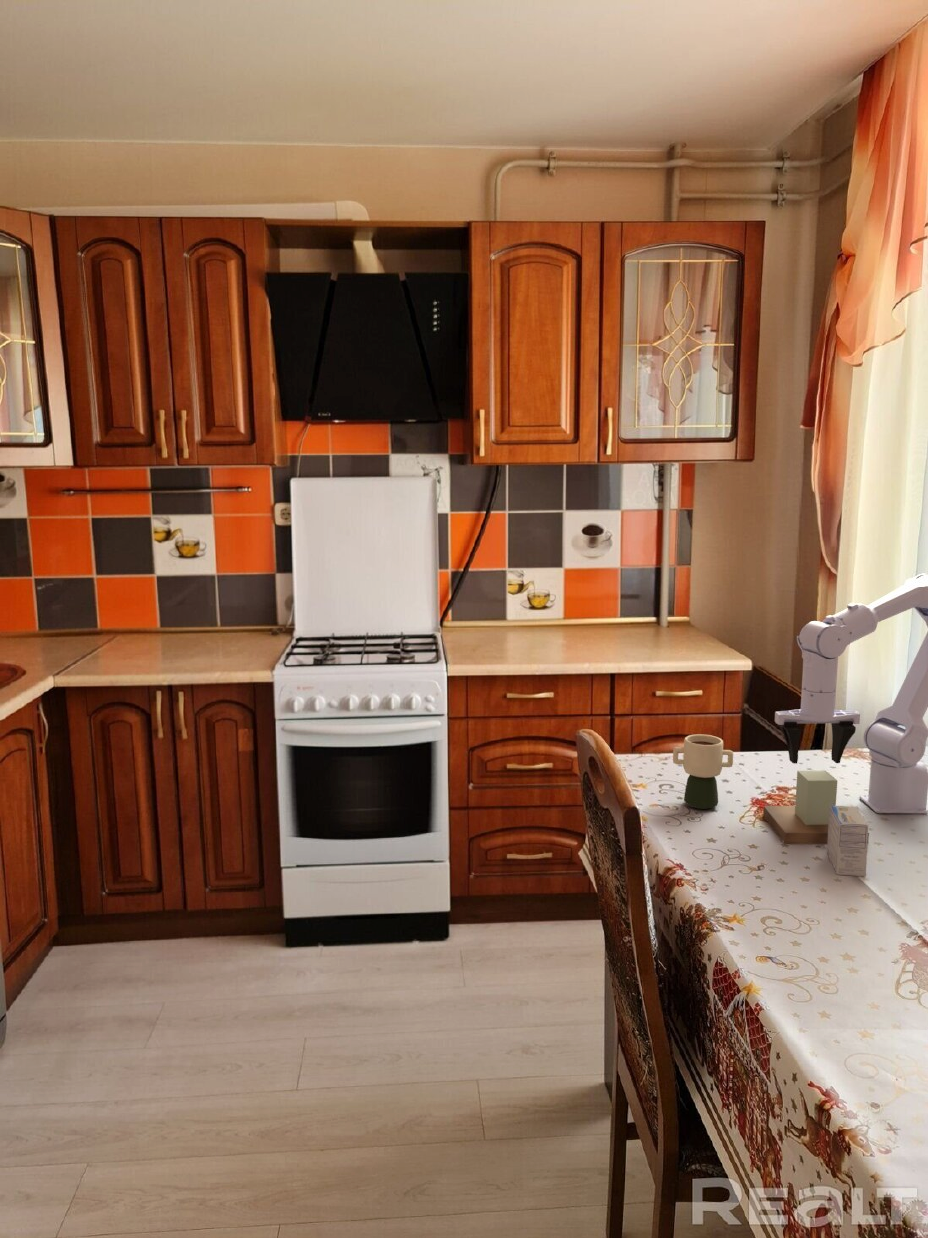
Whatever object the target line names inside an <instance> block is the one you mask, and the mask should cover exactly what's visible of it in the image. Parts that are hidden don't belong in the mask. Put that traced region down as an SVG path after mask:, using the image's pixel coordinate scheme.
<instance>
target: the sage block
mask: <svg viewBox="0 0 928 1238" xmlns="http://www.w3.org/2000/svg"><path fill="white" fill-rule="evenodd" d="M795 791H796V792H795V805H794V806H795V814H796V815H797V816H798V817H799V818H800V819H801V820H802V821H803V822H804V824H805V825H827V824H829V810H830V806H837V794H838V793H837V792H838V779H836V778H835V777H834V776H833V775H832V774H831V773H829V772H828V771H827V770H797V773H796V788H795Z"/></svg>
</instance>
